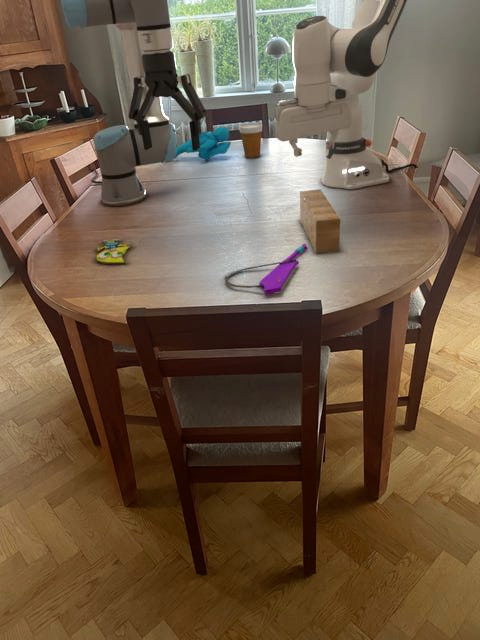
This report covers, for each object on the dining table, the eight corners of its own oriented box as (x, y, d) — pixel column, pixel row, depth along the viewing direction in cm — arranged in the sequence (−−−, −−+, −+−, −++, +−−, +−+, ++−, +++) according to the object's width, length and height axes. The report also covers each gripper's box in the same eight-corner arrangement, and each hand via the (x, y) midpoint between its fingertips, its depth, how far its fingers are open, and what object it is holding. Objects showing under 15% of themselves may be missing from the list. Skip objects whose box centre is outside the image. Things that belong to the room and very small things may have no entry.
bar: (300, 220, 138) (300, 191, 134) (320, 218, 138) (320, 189, 134) (316, 253, 119) (316, 221, 115) (339, 251, 119) (340, 218, 115)
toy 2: (168, 140, 212) (230, 120, 202) (177, 163, 217) (238, 145, 207) (155, 150, 198) (221, 129, 188) (165, 175, 203) (230, 156, 193)
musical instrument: (224, 303, 104) (316, 286, 101) (222, 294, 103) (315, 277, 100) (230, 261, 125) (306, 246, 122) (228, 253, 124) (305, 239, 121)
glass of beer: (264, 157, 198) (262, 127, 191) (241, 159, 198) (238, 129, 192) (263, 152, 206) (261, 122, 199) (241, 153, 206) (239, 124, 200)
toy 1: (135, 237, 135) (125, 260, 122) (135, 240, 135) (125, 263, 123) (99, 239, 135) (85, 263, 122) (100, 242, 135) (86, 266, 123)
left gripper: (101, 56, 109) (121, 151, 121) (200, 50, 101) (211, 153, 112) (120, 53, 115) (137, 144, 127) (214, 46, 107) (223, 145, 118)
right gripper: (279, 103, 113) (283, 163, 121) (355, 89, 118) (354, 147, 125) (268, 100, 118) (273, 157, 126) (342, 86, 123) (341, 142, 130)
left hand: (172, 149), depth 120 cm, fingers open, 13 cm apart
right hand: (314, 152), depth 126 cm, fingers open, 8 cm apart
